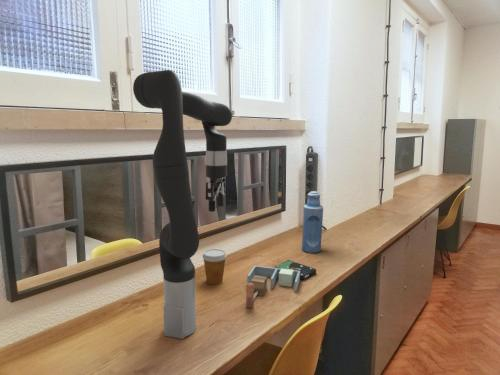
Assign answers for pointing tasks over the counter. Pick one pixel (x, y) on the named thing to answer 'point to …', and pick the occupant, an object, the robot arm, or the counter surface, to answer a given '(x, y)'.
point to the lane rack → (271, 275)
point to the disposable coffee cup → (214, 265)
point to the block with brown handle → (255, 289)
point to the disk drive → (298, 269)
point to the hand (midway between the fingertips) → (216, 208)
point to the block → (286, 277)
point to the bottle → (312, 224)
